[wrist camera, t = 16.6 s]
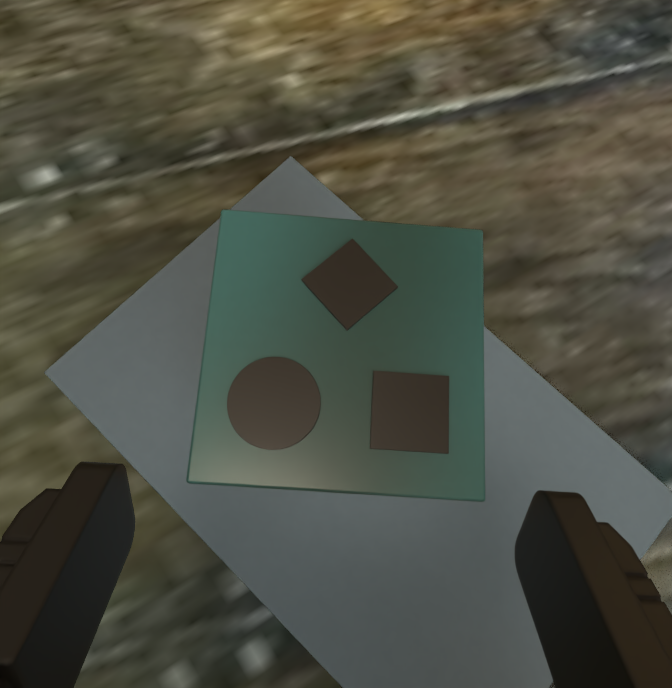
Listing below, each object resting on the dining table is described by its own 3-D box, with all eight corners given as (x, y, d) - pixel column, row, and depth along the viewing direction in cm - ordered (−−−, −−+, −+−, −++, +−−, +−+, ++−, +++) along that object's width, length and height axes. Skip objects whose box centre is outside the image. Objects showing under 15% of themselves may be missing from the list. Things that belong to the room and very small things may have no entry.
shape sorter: (246, 480, 20) (182, 490, 10) (262, 325, 21) (220, 200, 11) (400, 489, 20) (488, 509, 10) (405, 335, 21) (485, 221, 12)
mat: (48, 373, 21) (43, 372, 20) (291, 160, 24) (290, 155, 23) (456, 804, 18) (460, 812, 17) (676, 500, 21) (683, 500, 20)
